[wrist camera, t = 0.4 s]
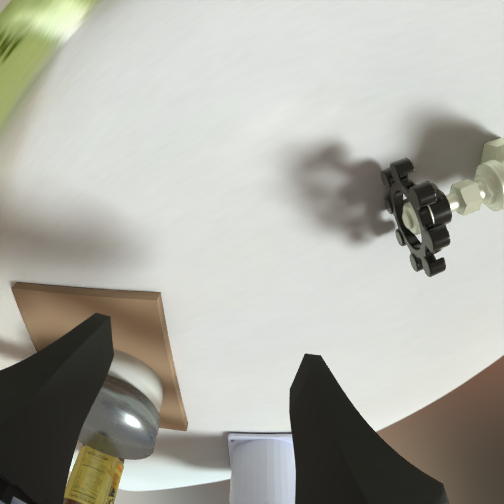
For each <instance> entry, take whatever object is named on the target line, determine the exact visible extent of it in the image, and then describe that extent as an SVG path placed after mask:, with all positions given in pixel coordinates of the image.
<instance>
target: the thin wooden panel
mask: <svg viewBox="0 0 504 504" xmlns="http://www.w3.org/2000/svg"><path fill="white" fill-rule="evenodd" d="M11 289H12V292H13V294H14V297H15V300H16V303H17V305H18V308H19V310H20V313H21V315H22V318H23V320H24V323H25V325H26V328H27V330H28V332H29V334H30V337H31V339H32V341H33V343H34V346H35V348H36V350H37V352H39V351H40V350H42V349H44V348H45V347H47V346H48V345H50V344H52V343H53V342H55V341H56V340H58V339H59V338H61V337H62V336H63V335H65V334H66V333H68V332H69V331H71V330H72V329H73V328H75V327H76V326H78V325H79V324H80V323H82V322H83V321H85V320H86V319H87V318H89V317H90V316H92V315H93V314H95V313H100V314H103V315H107V316H111V329H112V340H113V349H114V358H113V361H112V363H111V366H110V369H109V372H108V375H111V376H113V377H116V378H118V379H120V380H122V381H124V382H126V383H128V384H130V385H131V386H133V387H134V388H136V389H137V390H139V391H140V392H141V393H143V394H144V395H145V396H146V397H147V398H148V399H149V400H150V401H151V402H152V403H153V404H154V405H155V407H156V408H157V410H158V412H159V414H160V418H161V422H160V426H159V428H164V429H172V430H181V431H187V426H188V422H187V418H186V414H185V410H184V406H183V402H182V398H181V394H180V389H179V385H178V381H177V376H176V372H175V367H174V362H173V358H172V353H171V348H170V343H169V338H168V332H167V327H166V321H165V316H164V310H163V304H162V298H161V293H158V292H138V291H120V290H105V289H90V288H77V287H64V286H52V285H41V284H30V283H20V282H17V283H16V284H15V285H14V286H13V287H12V288H11Z"/></svg>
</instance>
